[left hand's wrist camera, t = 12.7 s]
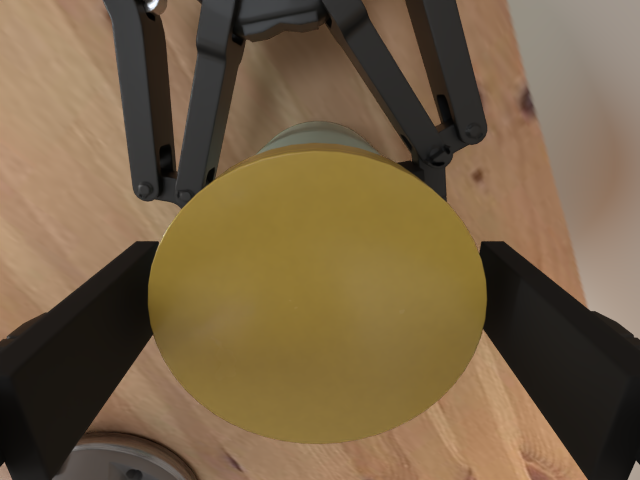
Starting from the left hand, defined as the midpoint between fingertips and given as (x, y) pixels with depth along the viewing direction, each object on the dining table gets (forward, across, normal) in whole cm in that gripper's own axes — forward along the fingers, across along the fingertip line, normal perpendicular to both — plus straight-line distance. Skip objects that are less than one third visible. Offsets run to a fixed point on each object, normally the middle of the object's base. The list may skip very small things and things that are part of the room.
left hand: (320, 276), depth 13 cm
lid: (-2, 0, 0) cm, 2 cm away
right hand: (+6, +1, -4) cm, 8 cm away
